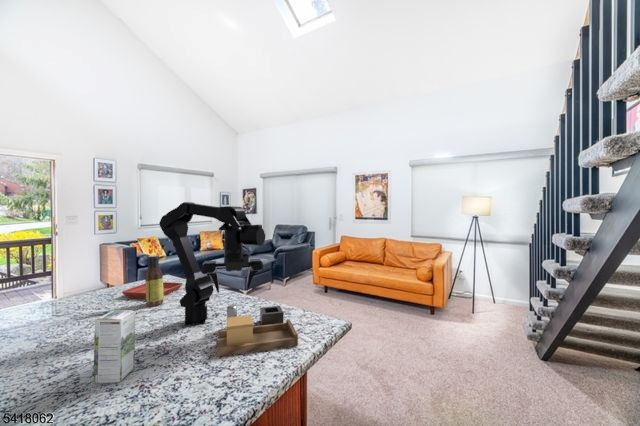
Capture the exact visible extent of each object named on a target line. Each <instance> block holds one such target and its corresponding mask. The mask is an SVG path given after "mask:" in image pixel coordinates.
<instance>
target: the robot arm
mask: <svg viewBox="0 0 640 426" xmlns="http://www.w3.org/2000/svg"><path fill="white" fill-rule="evenodd" d="M246 213H247V212H246V211H245V209H244V208H243V207H242V206H233V205H232V206H231V205H230V206H226V205H225V206H215V205H214V206H213V205H208V204H207V205H206V204H200V203H195V202H188V201H187V202H185V201H184V202H182V203H180V204H179V205H178V206H177V207H175V208H174V209H171V210H170V211H168V212H167V213H166V214H164V215H162V216H161V218H160V221H159V223H158V224H159V228H160V229H161V231H162V232H163V234H164V236H166V237H167V238H168V239H169V240H171V242H172V245H173V247H174V249H175V252H176V254H177V257H178V260H179V263H180V265H181V268H182V271H183V273H184V275H185V278H186V280H185V285H184V289H185V294H184V295H183V296H182V297H181V299H180V300H179V303H180V307H181V308H184V322H183V323H184V324H183V326H194V325H202V324H205V323H206V320H207V319H208V305H207V304H206V302H208V301H210V299H211V297H212V295H213V292H214V286H215V290H216V292H217V294H219V292H220V286H219V285H220V284H219V275H218V270H223V269H224V270H225V271H226V272H235V271H237V272H241V271H242V270H243V269H244V268H248V270H247V278H246V291H249V289H250V286H251V282H252V280H253V278H254V276H255V275H256V273H259V272H260V271H262V270H263V269H264V263H263V260H262V259H260V258H250V259H249V254H247V253H246V254H245V253H243V245H244V246H252V247H253V246H257V247H261V246H263V245H264V244H265V241H266V233H265V230H264V229H263V225H262V224H252V222H251V221H250V219H249V217H248V216H247V214H246ZM193 216H199V217H206V218H212V219H216V220H217V221H218V222H221V223H223V224H222V225H221V226H220V227H219V228H218V230H219V231H224V240H223V241H224V243H223V244H224V249H223V251H224V252H223V253H224V254H223V255H224V257H223V262H217V260H205V261H204V262H202V268H200V266H199V263H198V261H197V258H196V256H195V253H194V250H193V248H192V246H191V243H190V240H189V238H188V230H189V225H188V223H190V222H191V220H192V219H193ZM201 269H202V270H201ZM205 274H206V275H205Z"/></svg>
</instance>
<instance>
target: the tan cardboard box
mask: <svg viewBox="0 0 640 426" xmlns="http://www.w3.org/2000/svg"><path fill="white" fill-rule="evenodd" d="M253 326H254V321H253V317H252V314H246V315H245V314H244V315H237V316H234V317H226V326H225V327H226V329H225V330H227V346H233V345H240V344H247V343H253Z"/></svg>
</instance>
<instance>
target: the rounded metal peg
mask: <svg viewBox="0 0 640 426" xmlns="http://www.w3.org/2000/svg"><path fill="white" fill-rule="evenodd" d="M237 307H238V306H237V305H236V304H229V305H228V306H227V307H226V308H227V309H226V311H227V312H226V315H227V317H234V316H238V313H237V311H238V309H237ZM227 317H226V318H227Z"/></svg>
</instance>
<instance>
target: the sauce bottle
mask: <svg viewBox="0 0 640 426" xmlns="http://www.w3.org/2000/svg"><path fill="white" fill-rule="evenodd" d="M159 261H160V255H158V254H157V255H156V254H155V255H154V254H153V255H148V256H147V270H146V271H145V275H144V276H145V283H144V284H145V287H146V298H145V302H146V306H149V307H156V306H160V305H162V304H163V303H164V299H165V298H164V297H165V296H164V294H163V282H164V276H163V272H162V269H161V266H160V262H159Z"/></svg>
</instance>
